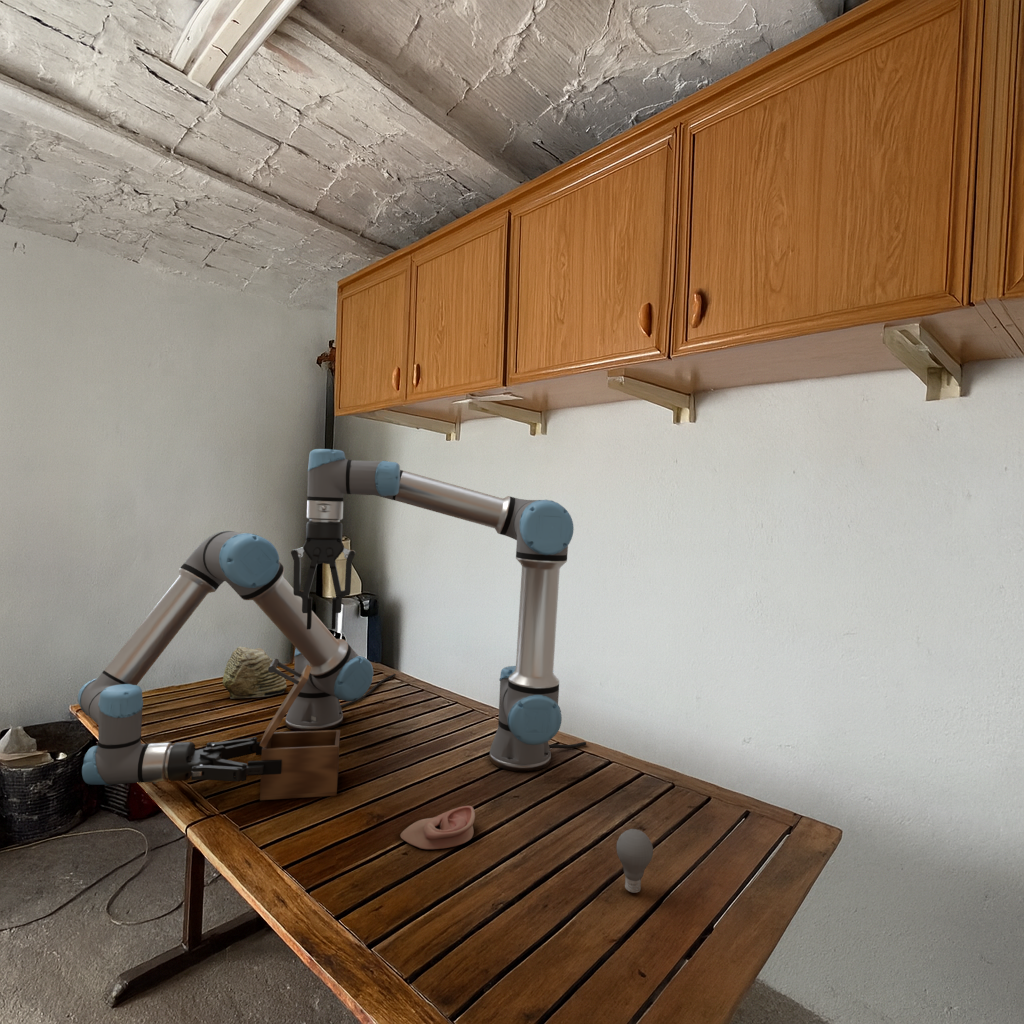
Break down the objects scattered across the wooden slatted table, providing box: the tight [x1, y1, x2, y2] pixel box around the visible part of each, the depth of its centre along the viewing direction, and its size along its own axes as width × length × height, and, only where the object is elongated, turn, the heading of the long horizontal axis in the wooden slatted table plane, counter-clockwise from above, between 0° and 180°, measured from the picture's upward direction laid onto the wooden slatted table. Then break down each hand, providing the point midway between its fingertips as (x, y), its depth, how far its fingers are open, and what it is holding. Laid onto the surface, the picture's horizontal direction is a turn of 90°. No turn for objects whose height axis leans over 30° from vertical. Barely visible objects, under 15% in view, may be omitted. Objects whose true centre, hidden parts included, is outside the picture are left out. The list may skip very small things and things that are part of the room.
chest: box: [259, 729, 341, 801], centre depth 137 cm, size 15×10×11 cm, turn 103°
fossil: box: [222, 646, 288, 699], centre depth 198 cm, size 9×18×15 cm, turn 132°
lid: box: [260, 658, 311, 748], centre depth 136 cm, size 16×10×8 cm
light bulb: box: [615, 828, 654, 894], centre depth 106 cm, size 6×6×10 cm
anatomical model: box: [399, 805, 476, 850], centre depth 121 cm, size 13×4×12 cm
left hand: (284, 756), depth 137 cm, fingers closed on chest, 10 cm apart
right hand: (321, 627), depth 138 cm, fingers open, 4 cm apart
